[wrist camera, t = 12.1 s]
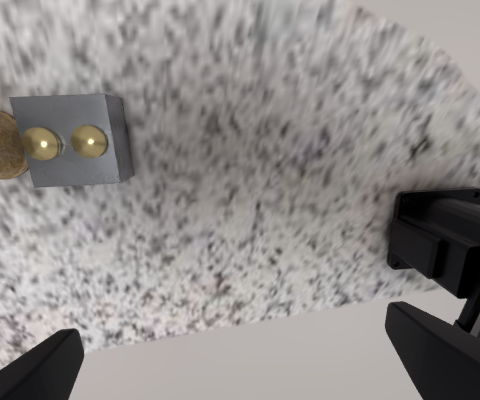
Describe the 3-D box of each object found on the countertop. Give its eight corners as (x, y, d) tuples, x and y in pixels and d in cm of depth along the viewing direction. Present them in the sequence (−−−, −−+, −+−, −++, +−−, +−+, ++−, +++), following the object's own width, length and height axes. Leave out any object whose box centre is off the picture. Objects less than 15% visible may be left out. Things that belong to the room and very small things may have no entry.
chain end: (121, 98, 16) (101, 93, 14) (133, 175, 18) (117, 184, 15) (40, 101, 16) (2, 96, 13) (60, 178, 18) (29, 189, 15)
